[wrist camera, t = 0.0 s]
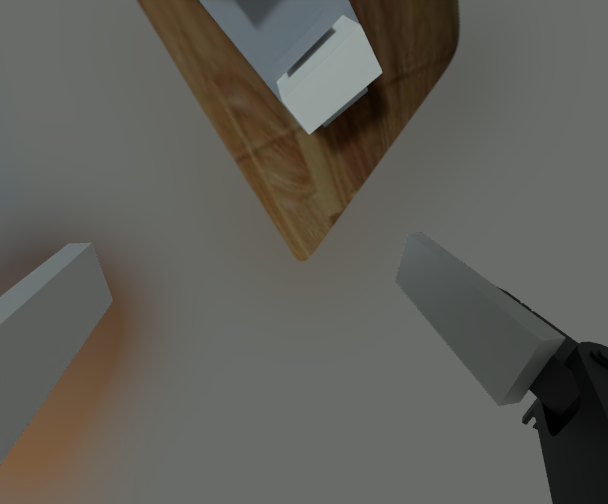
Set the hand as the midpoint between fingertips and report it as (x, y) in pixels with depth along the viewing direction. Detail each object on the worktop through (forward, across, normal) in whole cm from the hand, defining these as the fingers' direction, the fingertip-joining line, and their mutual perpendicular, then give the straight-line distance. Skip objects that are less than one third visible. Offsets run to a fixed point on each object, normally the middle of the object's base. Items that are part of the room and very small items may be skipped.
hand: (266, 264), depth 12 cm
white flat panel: (+25, +8, +10) cm, 28 cm away
